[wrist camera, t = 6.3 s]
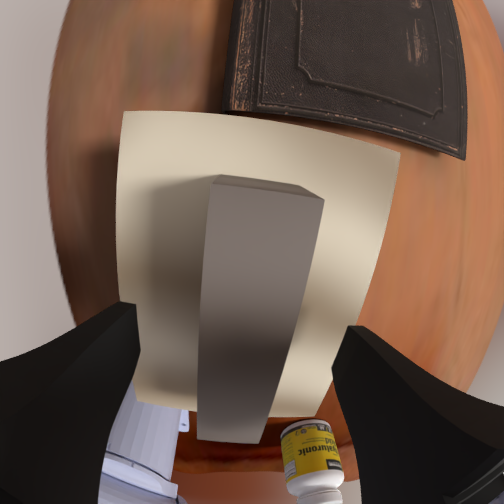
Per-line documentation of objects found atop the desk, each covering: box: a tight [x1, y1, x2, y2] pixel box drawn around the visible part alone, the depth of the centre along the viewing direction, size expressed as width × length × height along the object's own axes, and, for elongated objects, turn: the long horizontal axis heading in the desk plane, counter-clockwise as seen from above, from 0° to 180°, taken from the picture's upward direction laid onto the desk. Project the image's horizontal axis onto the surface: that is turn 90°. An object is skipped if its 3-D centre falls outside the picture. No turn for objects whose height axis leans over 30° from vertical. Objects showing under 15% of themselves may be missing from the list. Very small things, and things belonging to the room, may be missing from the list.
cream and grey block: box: [116, 111, 401, 444], centre depth 10 cm, size 14×10×4 cm
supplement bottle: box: [281, 419, 344, 504], centre depth 19 cm, size 5×5×10 cm
